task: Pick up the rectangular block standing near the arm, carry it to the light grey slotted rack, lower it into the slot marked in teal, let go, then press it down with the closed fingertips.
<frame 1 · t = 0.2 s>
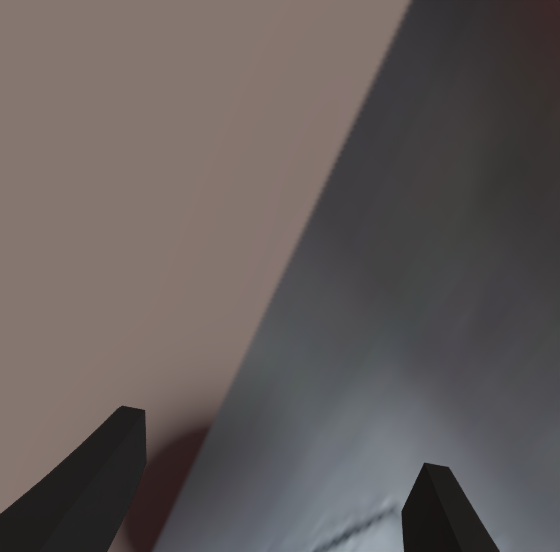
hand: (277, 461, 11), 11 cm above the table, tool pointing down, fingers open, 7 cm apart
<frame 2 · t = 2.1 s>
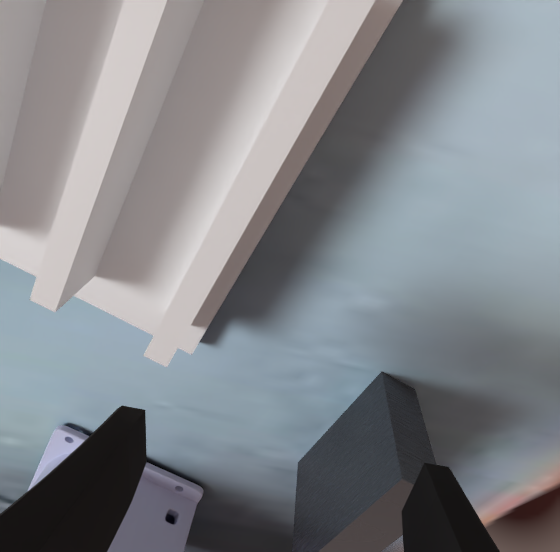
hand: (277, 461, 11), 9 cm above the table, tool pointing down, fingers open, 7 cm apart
slot rack: (35, 53, 15), on the table
rectangular block: (352, 427, 22), on the table
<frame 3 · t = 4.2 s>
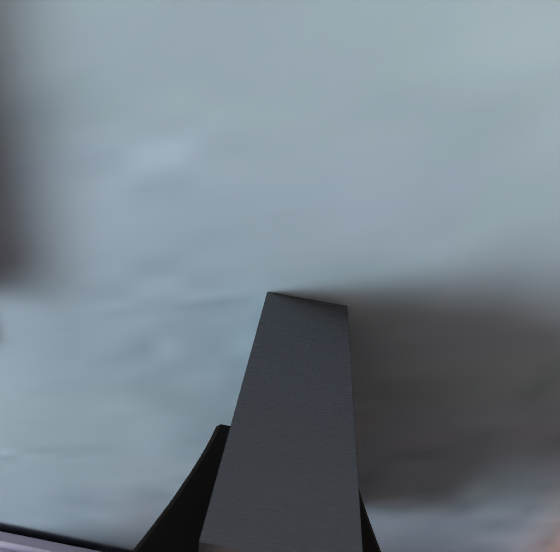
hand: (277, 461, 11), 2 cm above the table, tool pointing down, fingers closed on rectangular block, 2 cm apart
rectangular block: (283, 413, 12), on the table, touching gripper
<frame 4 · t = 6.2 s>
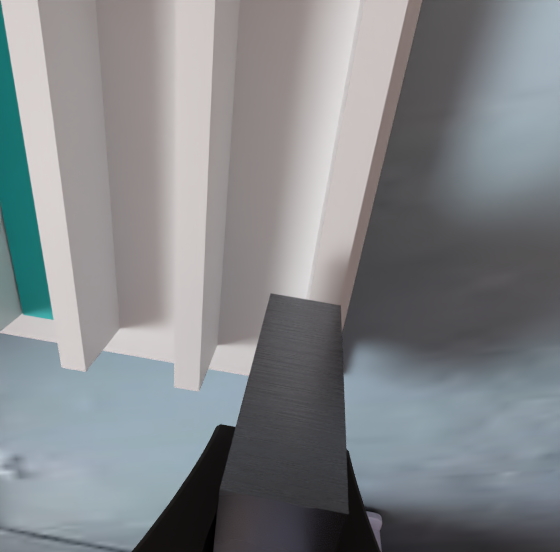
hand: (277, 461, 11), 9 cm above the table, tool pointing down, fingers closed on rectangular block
slot rack: (108, 171, 17), on the table
rectangular block: (285, 402, 13), point 6 cm above the table, touching gripper
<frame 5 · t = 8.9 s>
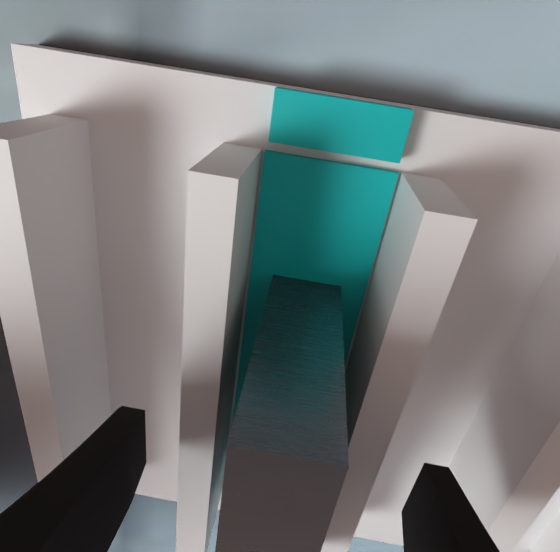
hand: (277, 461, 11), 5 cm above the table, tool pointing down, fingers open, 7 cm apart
slot rack: (356, 362, 15), on the table
rectangular block: (287, 382, 14), point 1 cm above the table, touching slot rack
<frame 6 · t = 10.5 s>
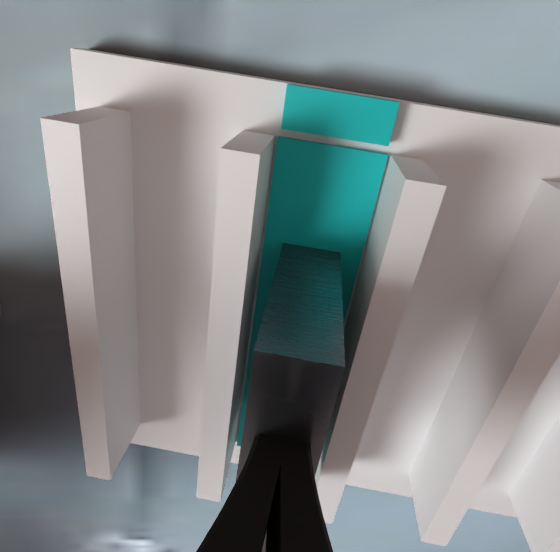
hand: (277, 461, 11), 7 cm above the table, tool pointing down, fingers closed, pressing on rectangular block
slot rack: (353, 324, 17), on the table
rectangular block: (294, 340, 16), point 1 cm above the table, touching gripper, slot rack
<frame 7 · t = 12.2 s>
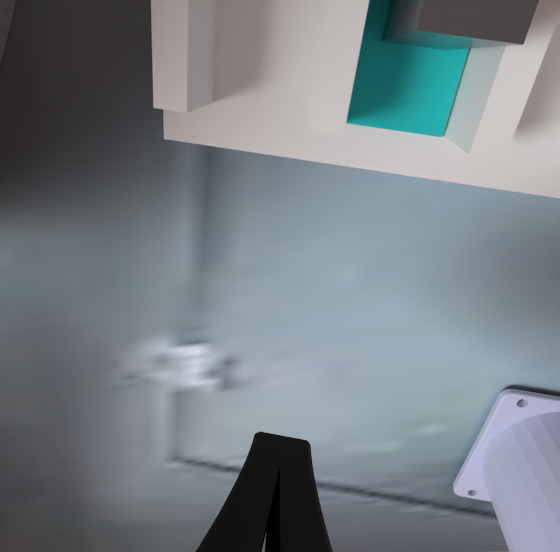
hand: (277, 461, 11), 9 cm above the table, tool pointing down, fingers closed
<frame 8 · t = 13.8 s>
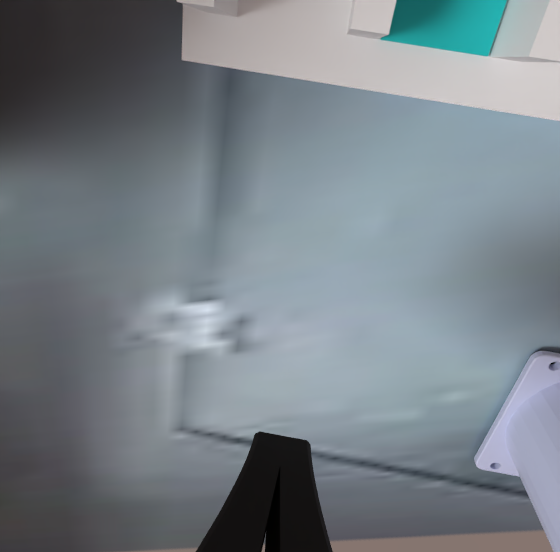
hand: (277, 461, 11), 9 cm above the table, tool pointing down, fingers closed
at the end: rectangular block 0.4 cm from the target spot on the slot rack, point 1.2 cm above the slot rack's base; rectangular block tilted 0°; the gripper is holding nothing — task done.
